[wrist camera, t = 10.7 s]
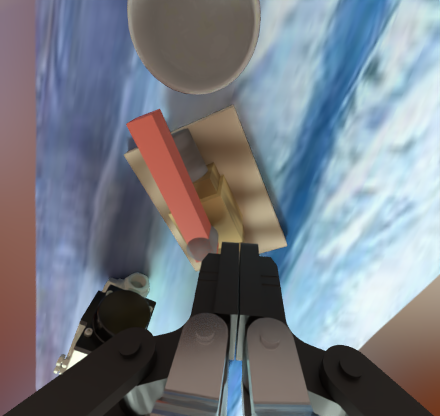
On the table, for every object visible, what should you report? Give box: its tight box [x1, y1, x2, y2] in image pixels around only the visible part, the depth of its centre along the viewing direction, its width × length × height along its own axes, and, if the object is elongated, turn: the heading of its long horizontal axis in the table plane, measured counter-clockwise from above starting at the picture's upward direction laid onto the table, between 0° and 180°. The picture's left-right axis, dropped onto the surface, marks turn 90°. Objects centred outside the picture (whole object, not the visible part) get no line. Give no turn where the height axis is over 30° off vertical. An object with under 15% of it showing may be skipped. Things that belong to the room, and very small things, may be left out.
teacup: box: [127, 0, 261, 95], centre depth 24 cm, size 14×11×8 cm
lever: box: [126, 109, 219, 263], centre depth 26 cm, size 16×3×2 cm, turn 20°
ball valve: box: [54, 272, 156, 374], centre depth 41 cm, size 18×8×18 cm, turn 153°
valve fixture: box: [124, 105, 287, 271], centre depth 34 cm, size 21×15×9 cm
